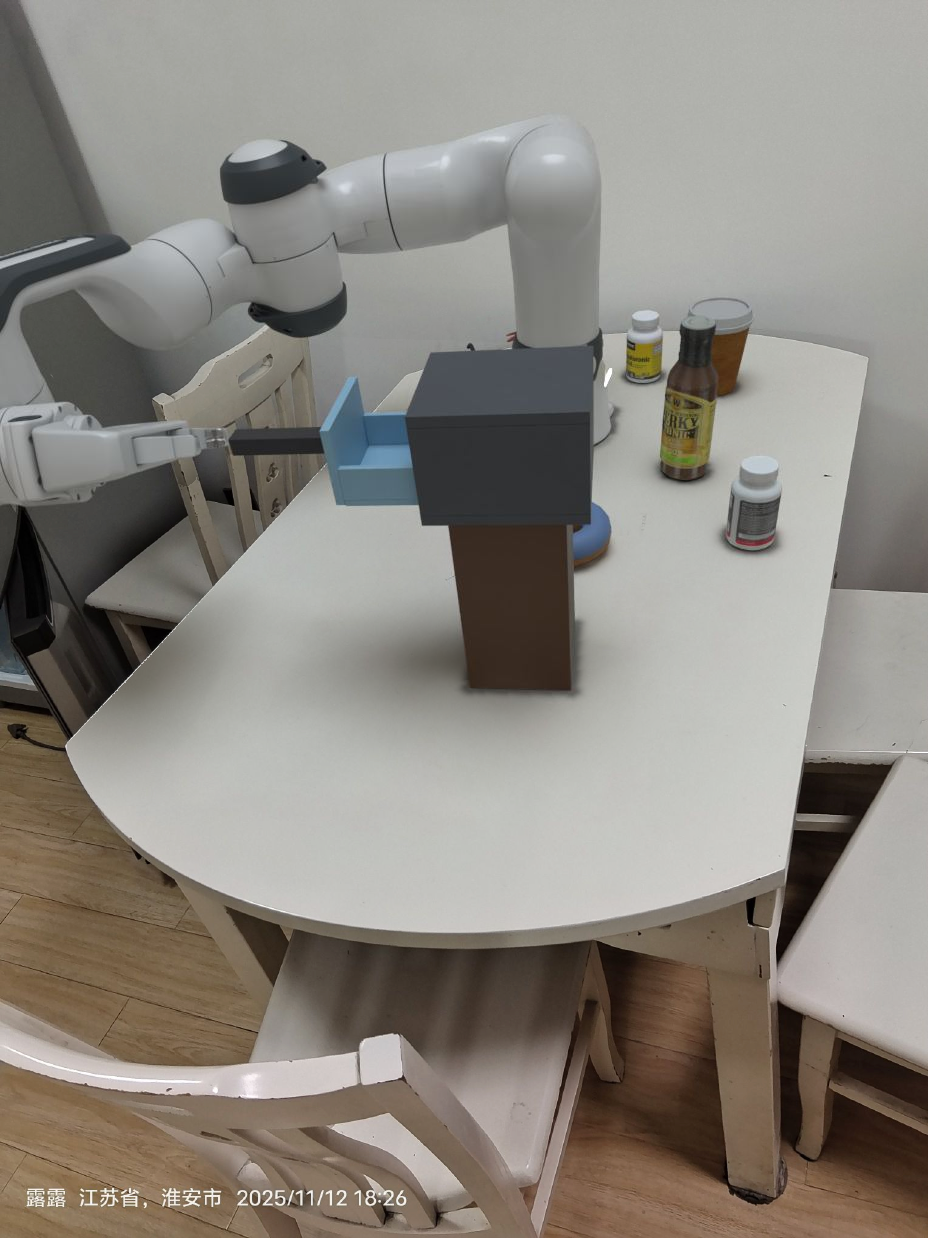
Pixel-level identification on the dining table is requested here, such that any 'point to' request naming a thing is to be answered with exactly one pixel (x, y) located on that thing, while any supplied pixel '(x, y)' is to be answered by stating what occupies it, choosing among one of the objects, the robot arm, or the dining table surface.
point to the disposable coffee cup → (726, 335)
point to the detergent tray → (347, 450)
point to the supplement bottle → (644, 347)
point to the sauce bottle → (690, 402)
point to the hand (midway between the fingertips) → (213, 440)
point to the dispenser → (508, 499)
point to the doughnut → (591, 536)
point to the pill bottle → (754, 504)
